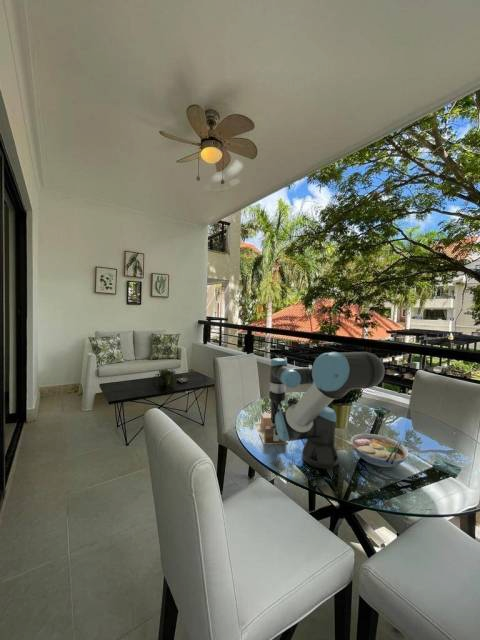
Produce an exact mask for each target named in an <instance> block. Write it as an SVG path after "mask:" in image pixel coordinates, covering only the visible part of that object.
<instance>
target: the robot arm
mask: <svg viewBox="0 0 480 640" xmlns="http://www.w3.org/2000/svg"><path fill="white" fill-rule="evenodd" d="M269 368H270V370H269V371H270V372H269V373H270V374H269V375H270V376H269V383H268V387H269V397H268V398H269V400H270V405H271V406H270V413H271V420H272V423H273V424H272V426H274V427H273V428H274V435H273V441H279V438H280V439H281V440H282V441H287V442H293V441H300V440H306V441H305V443H304V446H303V448H302V450H301V458H302V460H303V461H304V462H305V463H306V464H308V465H310V466H311V467H315V468H319V469H332V468H335V467H336V466H337V465H338V463H339V457H338V456H339V455H338V452H337V448H336V445H335V444H336V443H335V441H336V427H337V413H336V411H335V410H334V409H333V408H331V407H329V405H330V403H332V402H333V401H334V400H339V399H342V398H344V397H345V396H346V395H347V394H348V393H349V392H350V391H351V390H358V389H359V390H361V389H371V388H375V387H376V386H377V385H379V384H380V383H381V382H382V381H383V379H384V377H385V373H386V372H385V370H386V369H385V365H384V363H383V361H382V360H381V359H380V358H379V357H378V356H377V355H376V354H373V353H371V352H369V351H368V352H367V351H352V352H351V351H350V352H345V351H344V352H337V351H331V352H324V353H322V354H320V355H318V357H316V358H315V360H314V362H313V365H312V366H306V367H289V366H288V361H287V359H286V358H280V357H276V358H272V359H271V360H270V367H269ZM301 385H310V386H309V387H308V389H307V390H306V391H305V392H304V394H303V395H302V396H301V397H300V399H298V400H299V401H298V402H297V404H294V405H291V406H290V407H289V408H288V407H287V409H286V410H285V411H284V408H282V407H283V404H282V402H283V401H285V400H286V388H291V389H294V388H296V387H298V386H301Z"/></svg>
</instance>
